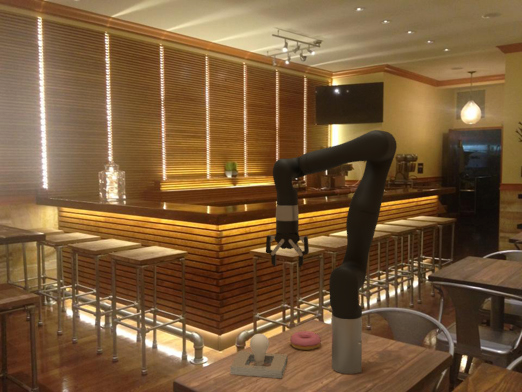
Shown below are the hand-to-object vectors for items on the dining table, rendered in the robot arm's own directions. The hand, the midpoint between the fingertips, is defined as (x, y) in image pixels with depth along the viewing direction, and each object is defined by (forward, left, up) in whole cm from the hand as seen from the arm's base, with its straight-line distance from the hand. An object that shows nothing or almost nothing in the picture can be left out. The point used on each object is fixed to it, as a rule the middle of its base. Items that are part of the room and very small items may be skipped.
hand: (287, 266), depth 160 cm
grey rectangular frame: (+7, +13, -30) cm, 34 cm away
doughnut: (-5, -8, -30) cm, 32 cm away
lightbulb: (+7, +13, -30) cm, 34 cm away
